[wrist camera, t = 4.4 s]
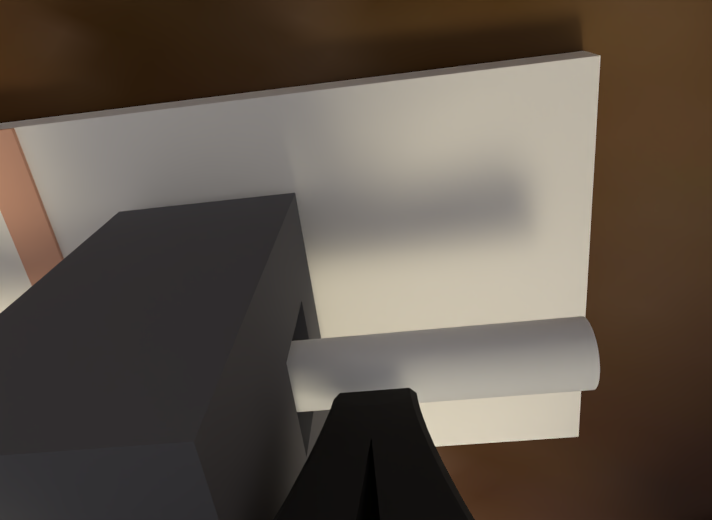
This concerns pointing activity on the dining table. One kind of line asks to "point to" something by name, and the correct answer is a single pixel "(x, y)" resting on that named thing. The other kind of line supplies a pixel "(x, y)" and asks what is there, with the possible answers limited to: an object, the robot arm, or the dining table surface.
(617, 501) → the dining table surface
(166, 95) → the dining table surface
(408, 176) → the pipe stand
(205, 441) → the grey square sleeve
